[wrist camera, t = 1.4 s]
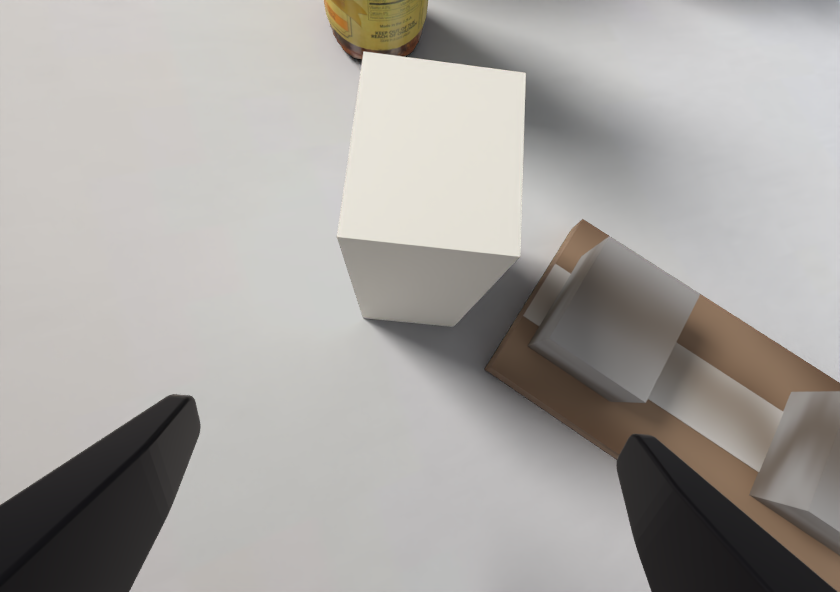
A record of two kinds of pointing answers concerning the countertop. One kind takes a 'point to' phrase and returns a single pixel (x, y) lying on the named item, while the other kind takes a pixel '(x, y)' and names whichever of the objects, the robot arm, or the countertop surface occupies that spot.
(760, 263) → the countertop surface
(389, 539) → the countertop surface
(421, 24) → the sauce bottle
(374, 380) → the countertop surface
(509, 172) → the block
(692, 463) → the rail board
